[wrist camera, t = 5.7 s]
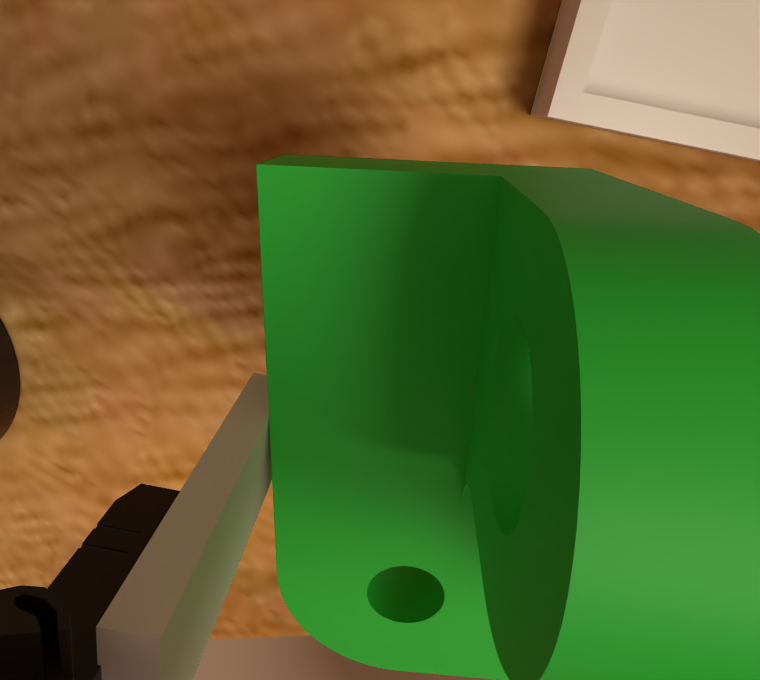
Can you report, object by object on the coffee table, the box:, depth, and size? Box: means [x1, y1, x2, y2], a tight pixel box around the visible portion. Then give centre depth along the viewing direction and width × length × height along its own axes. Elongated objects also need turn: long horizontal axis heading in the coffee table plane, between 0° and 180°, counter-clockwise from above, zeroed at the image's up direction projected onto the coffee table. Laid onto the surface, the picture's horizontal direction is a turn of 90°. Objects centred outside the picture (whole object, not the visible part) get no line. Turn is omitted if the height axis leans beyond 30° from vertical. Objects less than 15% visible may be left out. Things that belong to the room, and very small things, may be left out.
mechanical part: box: [256, 155, 760, 680], centre depth 9 cm, size 12×6×8 cm, turn 178°
